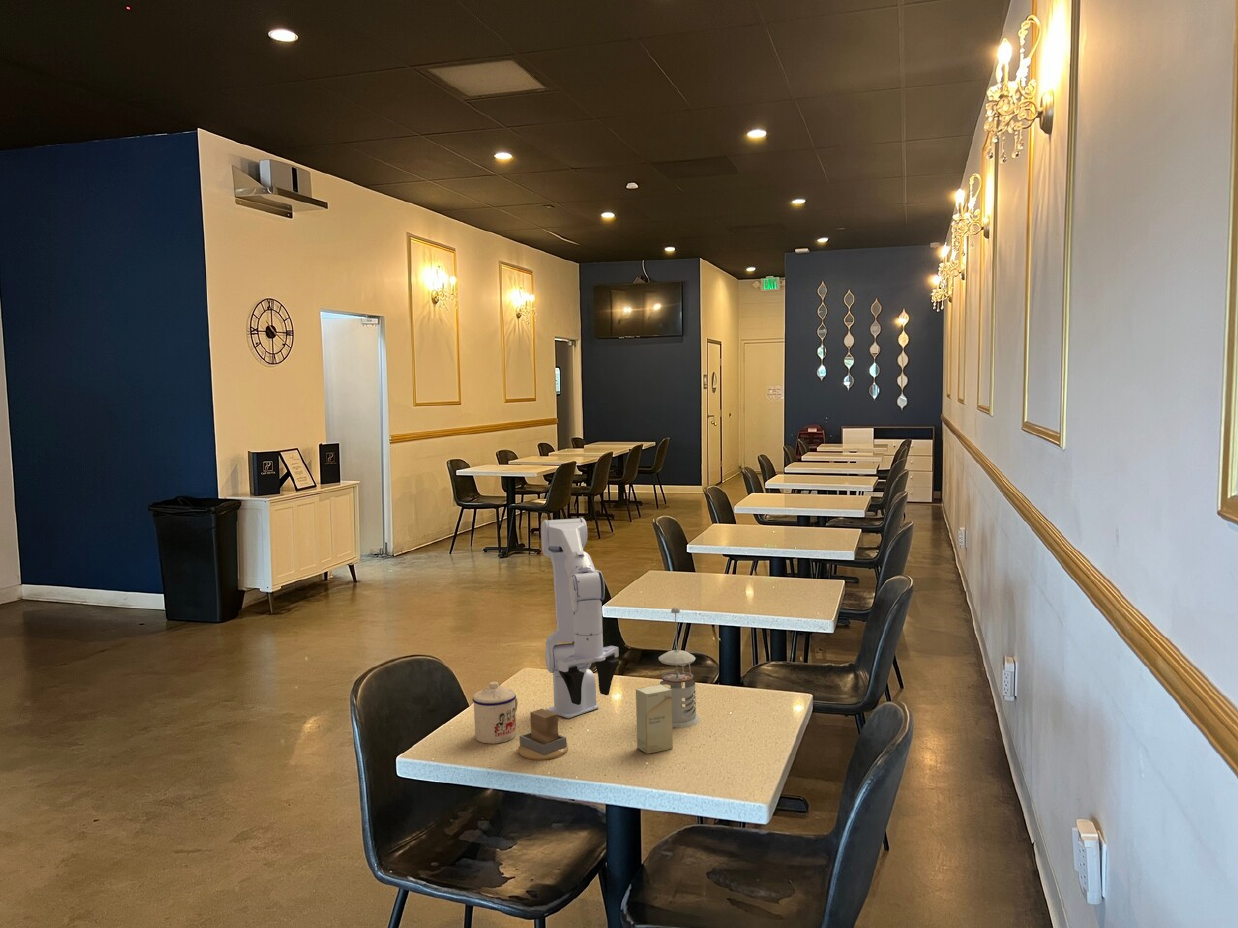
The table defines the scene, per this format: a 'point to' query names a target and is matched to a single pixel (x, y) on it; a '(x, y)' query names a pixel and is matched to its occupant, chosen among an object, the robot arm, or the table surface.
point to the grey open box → (542, 748)
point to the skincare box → (654, 718)
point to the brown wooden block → (544, 726)
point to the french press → (674, 679)
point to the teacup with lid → (495, 714)
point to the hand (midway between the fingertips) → (590, 698)
